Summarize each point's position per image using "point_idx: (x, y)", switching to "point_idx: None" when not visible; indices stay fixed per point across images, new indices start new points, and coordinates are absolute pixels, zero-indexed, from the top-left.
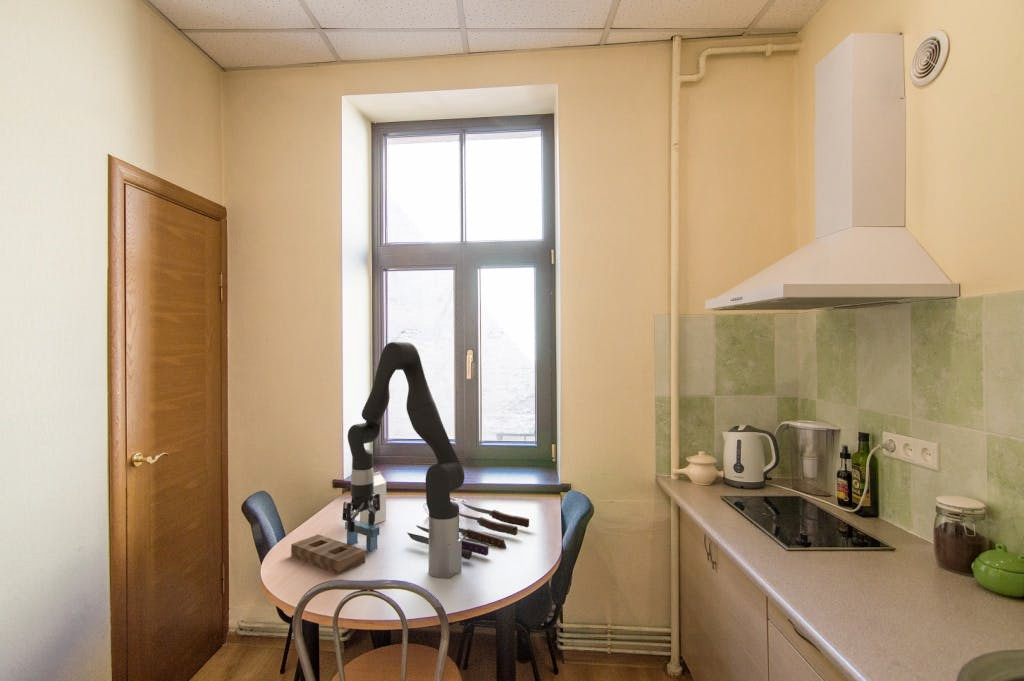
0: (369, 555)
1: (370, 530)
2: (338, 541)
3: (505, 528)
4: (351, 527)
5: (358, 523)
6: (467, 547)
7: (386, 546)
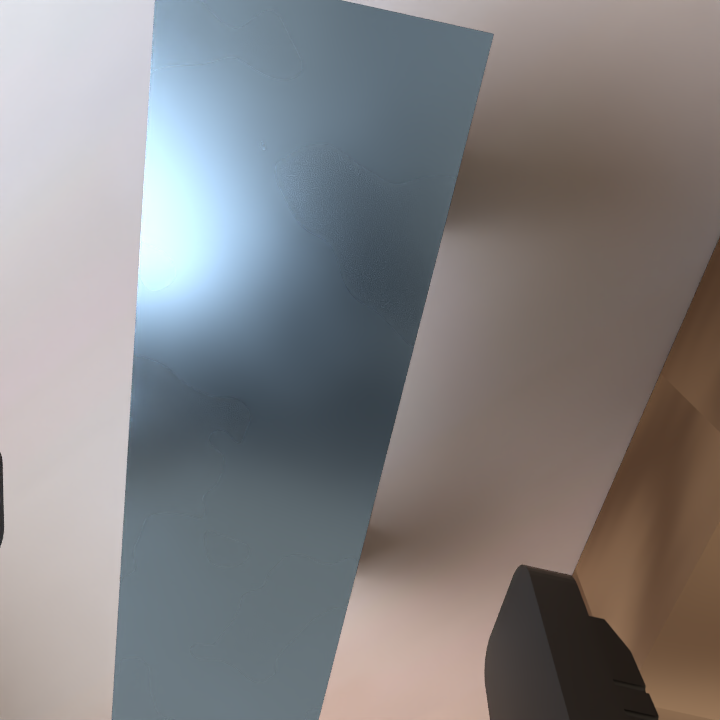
0: (554, 60)
1: (462, 152)
2: (674, 627)
3: None
4: (616, 692)
5: (216, 697)
6: None
7: (151, 19)
